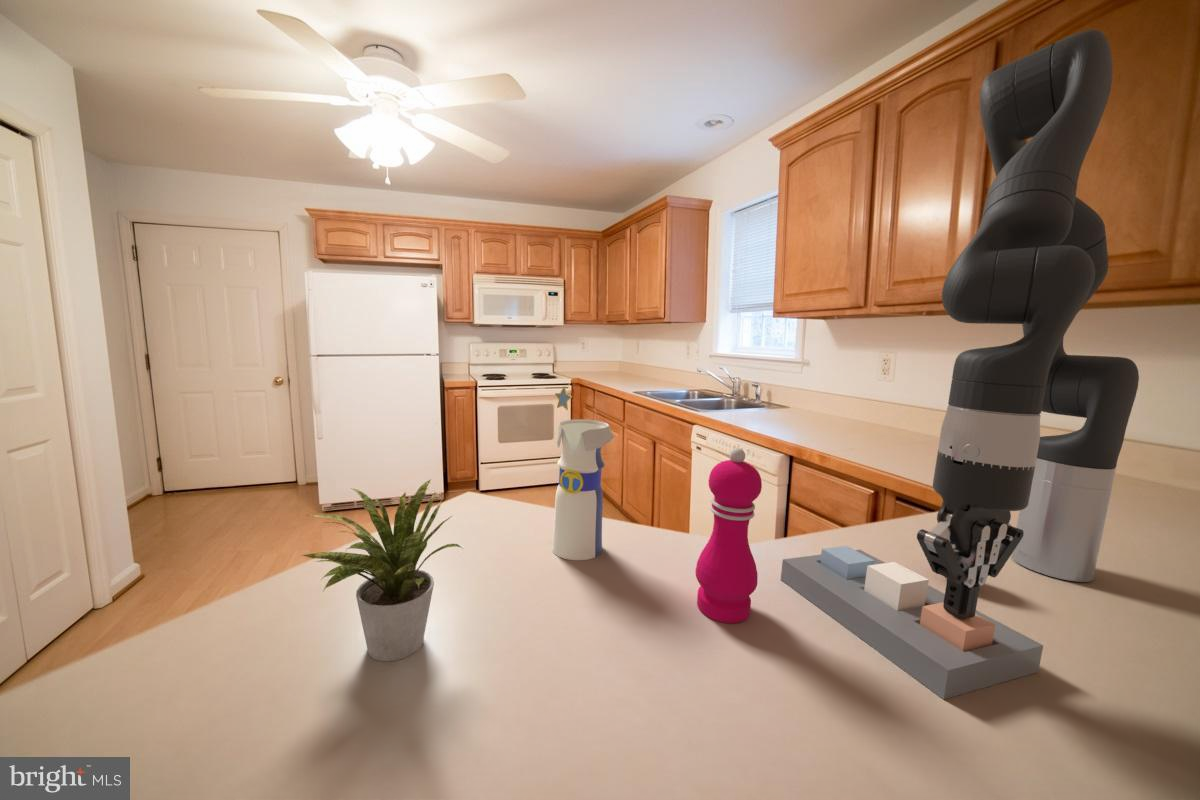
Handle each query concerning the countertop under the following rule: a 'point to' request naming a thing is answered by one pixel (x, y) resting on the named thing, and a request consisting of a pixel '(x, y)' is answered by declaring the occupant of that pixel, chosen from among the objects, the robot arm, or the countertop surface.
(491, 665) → the countertop surface
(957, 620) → the terracotta key
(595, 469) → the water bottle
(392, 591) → the house plant
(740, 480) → the pepper mill
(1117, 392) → the robot arm
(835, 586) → the board
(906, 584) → the white key
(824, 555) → the blue key
